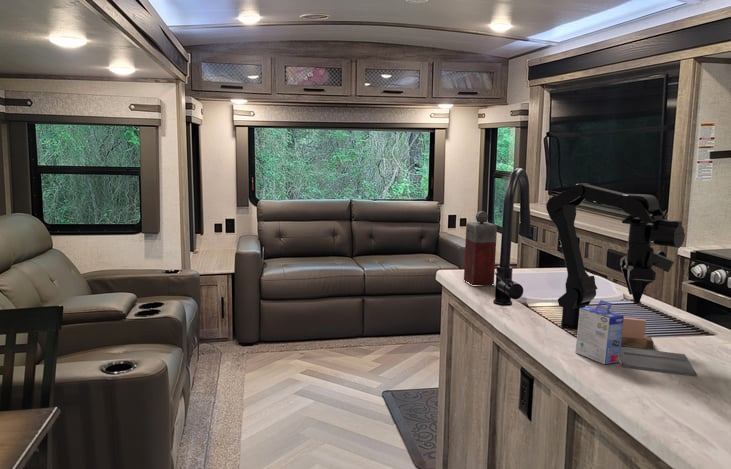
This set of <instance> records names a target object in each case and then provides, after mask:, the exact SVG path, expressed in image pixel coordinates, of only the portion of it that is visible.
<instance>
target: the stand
mask: <svg viewBox="0 0 731 469" xmlns="http://www.w3.org/2000/svg"><path fill="white" fill-rule="evenodd" d="M621 347H629V348H638V349H648V348H649V349H648V350H653V349H654V340H653V338H652V337H651V336H650V335H645V337H644V339H636V338H627V337H622V339H621Z"/></svg>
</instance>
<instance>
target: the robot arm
mask: <svg viewBox="0 0 731 469" xmlns="http://www.w3.org/2000/svg"><path fill="white" fill-rule="evenodd" d="M585 200H589V201H593V202H597V203H601V204H604V205H608V206H612V207H615V208H617V209H620V210H621V211H622V212H624V213H625V214H627V215H628V216H627V217H626V218H625V219H623V220H622V221H621V223H622V224H625V225H629V228H628V229H629V230H628V239H627V240H628V241H627V243H626V245H625V248H626V255H624V256H622V257H620V261H619V262H620V263H619V265H620V269H621V272H622V275H623V278H624V281H625V284H626V287H627V291H628V293H629V295H631V296H632V299H633V302H634V304H640V302H641V299H642V296H643V294H644V292H645V289H646V287H647V286H648V285H649V284H652V283H653V282H655V281H656V277H657V276H656V275H657V273H656V271H654V269H653V266H654V267H656V268H659V269H660V270H662V271H664V272H666V273H670V270H671V269H672V267H673V265H674V263H675V261H674V260H673V259H671V258H670V257H667V256H668V255H667V252H666V251H663V250H658V251H657V252H655V251H654V248H653V247H652V243H653V244H654V245H656V246H662V247H670V248H675V249H678V248H681V247H682V246H683V244H684V241H685V238H686V233H685V228H684V227H683V226H682V224H683V222H682V220H668V219H667V217H666V216H665V214H664V213H663V211H662V209H661V207H660V204H659V200H658V198H657V197H656V196H655V195H652V194H641V193H640V194H639V193H636V194H635V193H624V192H620V191H616V190H611V189H608V188H603V187H599V186H596V185H593V184H590V183H576V184H575V185H573V186H572V187H571V188H568V189H567V190H565V191H564V192H561V193H559V194H558V195H556V196H551V197H550V198H549V199H548V200H547V202H546V204H545V207H546V208H545V209H546V211H547V214H548V217H549V219H550V220H551V222H552V223H553V224H554V225H555V227H556V229H557V232H558V237H559V241H560V246H561V250H562V254H563V258H564V263H565V268H566V272H567V276H566V280H565V283H564V284H565V293H564V294H562V295H561V296H559V298H558V299H557V302H558V306H559V307H562V312H561V320H560V327H561V328H564V329H565V328H566V329H574V330H575V329H576V330H578V321H579V311H580V308H584V307H589V305H590V304H591V301H592V300H594V299H595V297H596V296H597V290H598V286H597V285H596V284H597V283H596V278H595V276H594V275H589V274H588V273H587V272H586V269H585V266H584V261H583V258H582V253H581V248H580V244H579V239H578V235H577V231H576V227H575V221H576V217H577V207H578V206H579V205H582V203H583V202H584V201H585Z"/></svg>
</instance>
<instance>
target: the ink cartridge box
mask: <svg viewBox="0 0 731 469" xmlns="http://www.w3.org/2000/svg"><path fill="white" fill-rule="evenodd" d="M601 305H606V306H607V307H604V306H601ZM612 305H613V303H612V302H608V301H605V300H604V299H603V300H602V299H600V300H599V302H598V304H597V306H585V307H584V308H580V311H579V321H578V329H577V333H576V334H577V335H576V342H575V353H576V354H578V355H580V356H583V357H586V358H588V359H590V360H592V361H595V362H597V363H600V364H602V365H609V364H617V363H620V361H621V358H620V350H621V347H622V346H621V339H622V329H623V319H624V318H625V316H624V315H625V314H620V313H617V312H613V311H610V310H611V308H612Z"/></svg>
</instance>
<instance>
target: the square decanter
mask: <svg viewBox="0 0 731 469" xmlns="http://www.w3.org/2000/svg"><path fill="white" fill-rule="evenodd" d="M488 219H489V214H488V212H486V211H483V210H480V211H478V212H477V213H476V214H475V220H476V221H470V222H469V221H468V222H467V223H466V225H465V226H466V227H465V244H464V245H465V246H464V265H463V266H464V268H463V270H464V271H463V281H464V280H465V281H467V282H469V283H470V284H472V285H492V284H494V285H495V275H496V274H495V272H496V271H495V270H496V256H497V254H496V253H497V252H496V251H497V234H498V226H497V225H496V224H494V223H491V222H487V221H488Z"/></svg>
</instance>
